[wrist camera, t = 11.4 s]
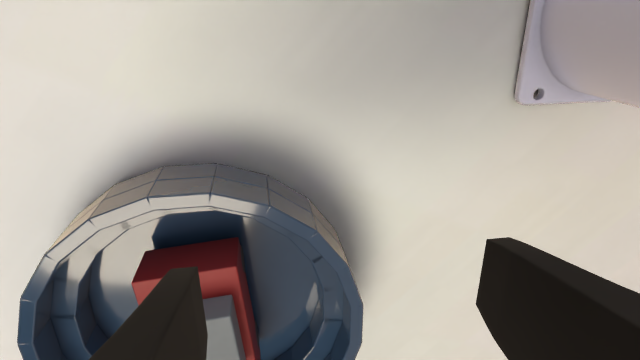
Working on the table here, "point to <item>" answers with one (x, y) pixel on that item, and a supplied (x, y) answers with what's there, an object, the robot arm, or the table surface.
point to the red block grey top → (211, 293)
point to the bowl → (189, 228)
